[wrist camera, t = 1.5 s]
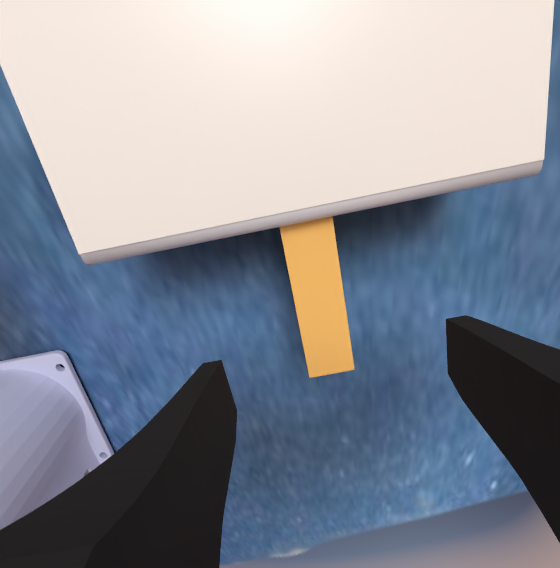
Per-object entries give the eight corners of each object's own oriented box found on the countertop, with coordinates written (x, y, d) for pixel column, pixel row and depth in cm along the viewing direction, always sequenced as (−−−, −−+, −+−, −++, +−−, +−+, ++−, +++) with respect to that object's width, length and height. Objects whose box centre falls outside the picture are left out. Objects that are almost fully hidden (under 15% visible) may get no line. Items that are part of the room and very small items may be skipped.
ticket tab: (334, 318, 20) (354, 369, 16) (300, 325, 20) (309, 377, 16) (289, 31, 15) (298, -19, 11) (243, 41, 16) (233, -4, 11)
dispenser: (446, 166, 19) (542, 176, 12) (147, 227, 19) (84, 268, 13) (439, -67, 15) (568, -228, 9) (76, 17, 16) (-58, -75, 9)
